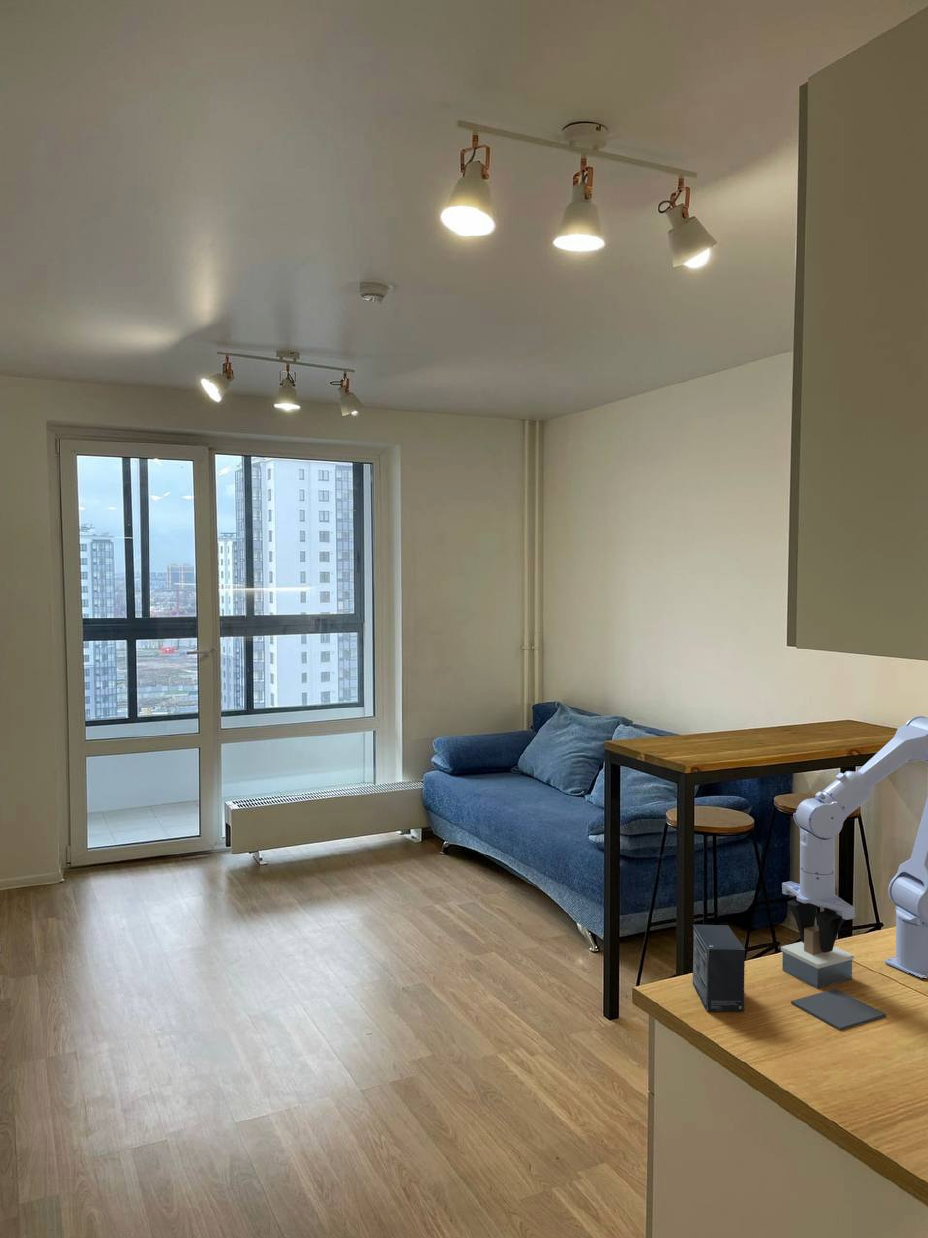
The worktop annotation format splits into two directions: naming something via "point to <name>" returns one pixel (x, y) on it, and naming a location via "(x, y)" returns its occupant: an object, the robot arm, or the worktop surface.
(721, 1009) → the small box
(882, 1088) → the worktop surface
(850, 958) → the lid
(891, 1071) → the worktop surface
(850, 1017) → the mat
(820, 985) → the tin
